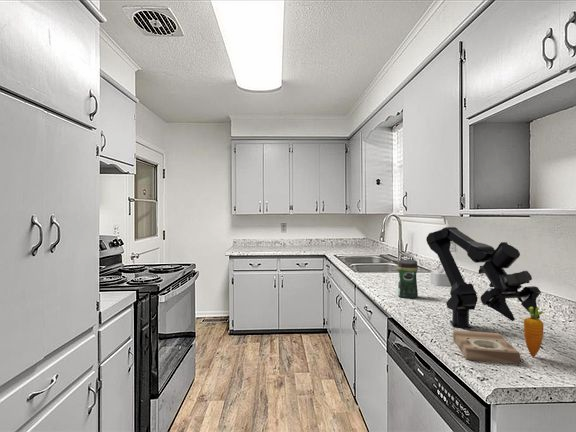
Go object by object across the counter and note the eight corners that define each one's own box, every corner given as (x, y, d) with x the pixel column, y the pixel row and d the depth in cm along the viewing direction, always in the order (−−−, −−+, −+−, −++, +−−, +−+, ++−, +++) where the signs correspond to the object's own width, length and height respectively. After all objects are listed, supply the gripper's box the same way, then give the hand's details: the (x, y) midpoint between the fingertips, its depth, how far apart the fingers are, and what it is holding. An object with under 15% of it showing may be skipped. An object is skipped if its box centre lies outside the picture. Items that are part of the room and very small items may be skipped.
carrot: (535, 353, 116) (536, 304, 115) (547, 359, 111) (548, 308, 110) (519, 353, 115) (520, 304, 115) (530, 360, 110) (531, 308, 110)
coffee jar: (416, 295, 193) (417, 259, 193) (418, 299, 186) (419, 261, 185) (396, 294, 195) (397, 258, 195) (398, 298, 188) (398, 260, 187)
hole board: (453, 339, 128) (453, 330, 128) (498, 342, 125) (498, 333, 125) (466, 359, 110) (466, 349, 110) (519, 364, 107) (519, 353, 107)
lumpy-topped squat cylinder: (429, 283, 228) (429, 268, 227) (450, 283, 228) (451, 268, 228) (436, 286, 217) (436, 271, 217) (458, 286, 217) (458, 271, 217)
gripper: (487, 262, 118) (516, 306, 107) (536, 261, 123) (568, 303, 112) (469, 283, 126) (494, 326, 115) (515, 281, 130) (544, 322, 120)
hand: (526, 319), depth 115 cm, fingers open, 9 cm apart
